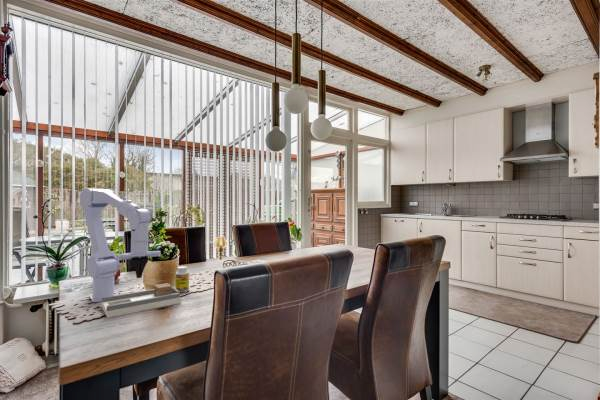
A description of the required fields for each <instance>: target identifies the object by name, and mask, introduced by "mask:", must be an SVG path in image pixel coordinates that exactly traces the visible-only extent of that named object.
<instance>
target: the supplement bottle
mask: <svg viewBox="0 0 600 400" xmlns="http://www.w3.org/2000/svg"><path fill="white" fill-rule="evenodd" d="M177 271H178V272H177ZM177 271H176V272H175V274H176V278H175V279H174V280H175V281H174V283H175V284H174V286H175V287H174V288H175V289H176V290H178V291H179V293H184V292H187V291H189V289H190V288H189V287H190V272H189V271H188V267H187V266H185V265H184V266H182V265H181V266H178V267H177Z"/></svg>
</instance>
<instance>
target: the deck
mask: <svg viewBox="0 0 600 400" xmlns="http://www.w3.org/2000/svg"><path fill="white" fill-rule="evenodd" d="M100 303H101V304H100V306H101V309H102V311H103V312H104V314H105V316H106V318H107V319H109V318H115V317H118V316H122V315H123V316H124V315H128V314H133V313H139V312H144V311H148V310H152V309H158V308H163V307H164V308H165V307H169V306H173V305H178V304H181V303H182V297H181V292H179V291H178V290H176V289H175V287H174V286H172V294H169V295H163V296H158V297H156V296H154V288H152V289H144V290H138V291H133V292H128V293H121V294H115V295H113V296H107V297H102V301H100Z"/></svg>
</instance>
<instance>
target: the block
mask: <svg viewBox="0 0 600 400" xmlns="http://www.w3.org/2000/svg"><path fill="white" fill-rule="evenodd" d="M153 286H154V288H153V289H154V296H156V297H158V296H163V295H169V294H172V287H173V285H171V284H170V283H168V282H166V283H165V282H163V283H159V284H154V285H153Z"/></svg>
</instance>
